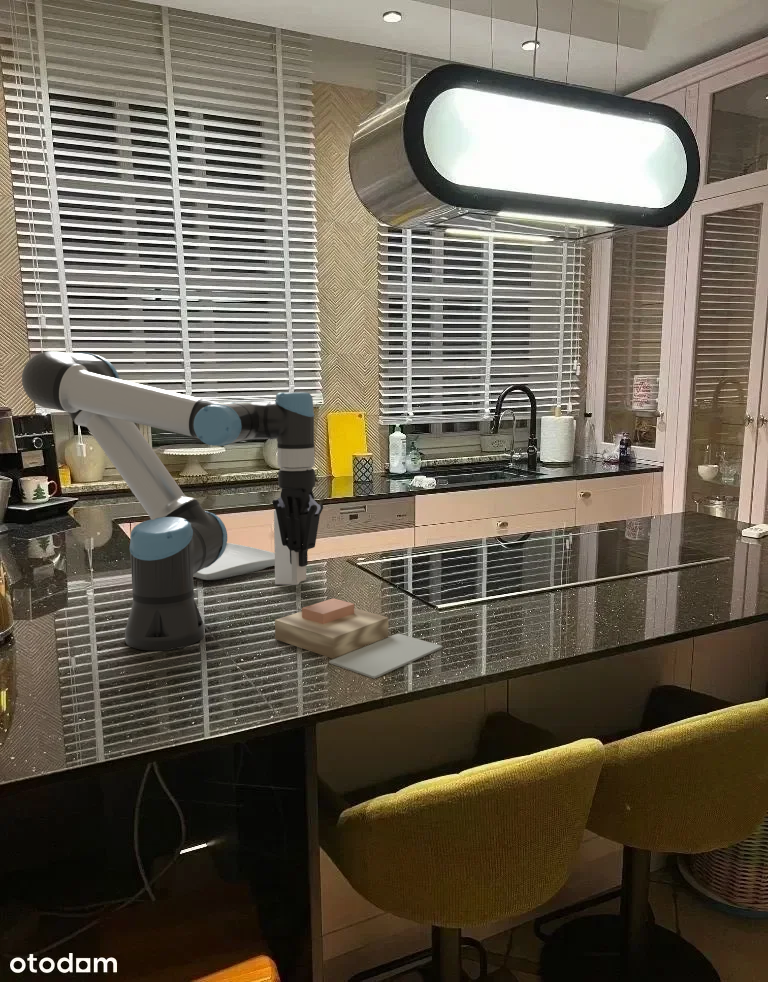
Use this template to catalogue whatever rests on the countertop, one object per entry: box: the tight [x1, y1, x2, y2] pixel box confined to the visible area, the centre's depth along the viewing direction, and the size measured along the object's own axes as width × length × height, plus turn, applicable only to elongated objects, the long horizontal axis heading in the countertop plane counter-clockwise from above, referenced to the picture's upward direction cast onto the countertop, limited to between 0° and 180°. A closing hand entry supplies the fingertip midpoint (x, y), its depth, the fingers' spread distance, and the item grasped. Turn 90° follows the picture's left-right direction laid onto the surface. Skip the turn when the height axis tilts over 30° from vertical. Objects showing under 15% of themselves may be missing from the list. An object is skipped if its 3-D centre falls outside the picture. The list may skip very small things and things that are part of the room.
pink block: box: [301, 597, 355, 624], centre depth 152 cm, size 9×6×2 cm, turn 140°
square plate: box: [193, 542, 275, 581], centre depth 206 cm, size 27×27×4 cm
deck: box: [274, 607, 389, 660], centre depth 150 cm, size 16×16×4 cm
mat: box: [328, 633, 443, 680], centre depth 141 cm, size 20×11×1 cm, turn 140°
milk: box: [273, 509, 300, 586], centre depth 191 cm, size 6×6×22 cm
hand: (299, 580), depth 157 cm, fingers closed
